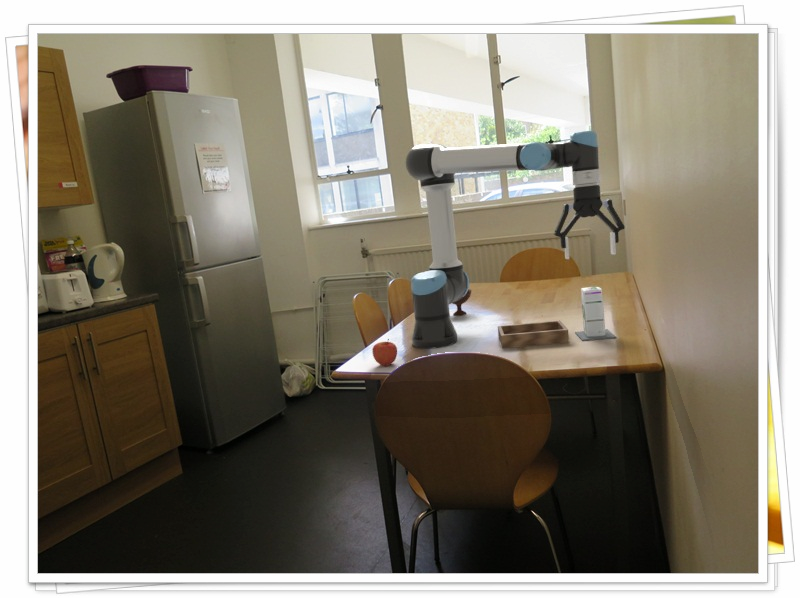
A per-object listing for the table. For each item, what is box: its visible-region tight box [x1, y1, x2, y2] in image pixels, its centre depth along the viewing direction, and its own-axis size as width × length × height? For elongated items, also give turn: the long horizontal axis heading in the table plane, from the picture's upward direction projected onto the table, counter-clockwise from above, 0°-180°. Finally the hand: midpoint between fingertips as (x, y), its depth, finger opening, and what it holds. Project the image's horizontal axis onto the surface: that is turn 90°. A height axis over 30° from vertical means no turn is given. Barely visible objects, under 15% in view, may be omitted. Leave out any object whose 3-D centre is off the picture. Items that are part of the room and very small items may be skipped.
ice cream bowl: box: [451, 289, 472, 317], centre depth 229 cm, size 11×11×15 cm
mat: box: [574, 328, 617, 342], centre depth 176 cm, size 10×10×1 cm
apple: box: [372, 338, 398, 367], centre depth 169 cm, size 7×7×8 cm
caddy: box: [497, 320, 570, 349], centre depth 179 cm, size 20×13×4 cm, turn 85°
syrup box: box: [580, 286, 606, 337], centre depth 175 cm, size 6×6×14 cm
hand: (590, 256), depth 172 cm, fingers open, 13 cm apart
